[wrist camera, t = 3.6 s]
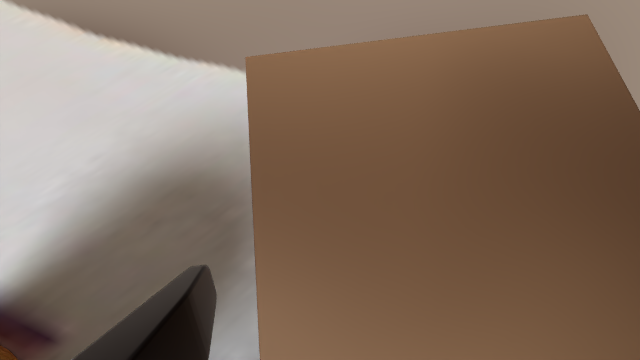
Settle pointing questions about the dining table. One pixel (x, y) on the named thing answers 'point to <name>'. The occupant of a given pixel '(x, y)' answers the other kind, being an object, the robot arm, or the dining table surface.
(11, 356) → the disposable coffee cup
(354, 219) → the walnut post
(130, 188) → the dining table surface
